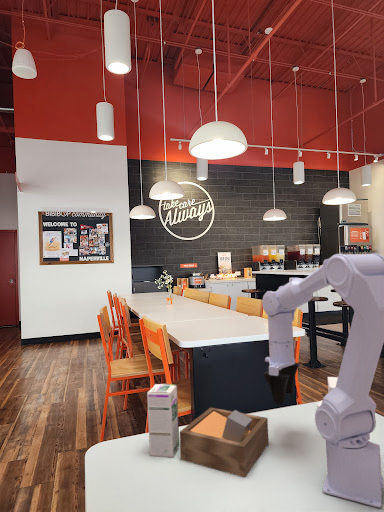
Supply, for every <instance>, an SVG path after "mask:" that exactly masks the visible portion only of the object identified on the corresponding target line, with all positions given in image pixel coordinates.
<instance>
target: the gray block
mask: <svg viewBox="0 0 384 512" xmlns="http://www.w3.org/2000/svg"><path fill="white" fill-rule="evenodd" d="M232 411H233V412H232V413H231V414H230V415H229V416H228V417H227V421H226V424H225V428H224V432H223V435H222V438H224V439H226V440H230V441H235V442H239V443H241V442H242V441H243V440H244V438H245V437H246V436H247V435H248V433H249V430H250V426H251V423H252V419H251V418H249V417H248V416H246V415H244V414H245V413H244V414H242V413H243V412H240V411H239V410H236V409H235V410H232Z"/></svg>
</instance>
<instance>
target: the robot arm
mask: <svg viewBox="0 0 384 512" xmlns="http://www.w3.org/2000/svg"><path fill="white" fill-rule="evenodd" d="M329 286H330V287H332V289H334V291H335V292H336V294H338V295H339V297H341V298H342V300H343V301H344V303H346V305H348V306H350V307H351V308H352V309H353V312H354V313H353V316H352V321H351V325H350V328H349V332H348V336H347V340H346V344H345V347H344V352H343V356H342V360H341V364H340V368H339V372H338V376H337V377H338V379H337V383H336V387H335V388H334V389H333V390H331V391H330V392H329V393H327V394H326V395H325V396H324V397H323V398H322V400H323V401H322V400H321V401H322V404H321V405H320V406H319V407H318V408H316V410H315V412H314V413H315V415H314V421H315V422H314V423H315V425H316V429H317V431H318V432H319V435H320V436H321V437H322V438H323V439H324V440H325V449H326V450H325V451H326V452H325V454H326V455H325V456H326V468H327V469H326V470H327V471H326V472H327V473H326V476H325V477H326V478H325V480H324V483H323V486H322V487H323V488H322V492H323V493H324V494H327V495H332V496H335V497H339V498H342V499H346V500H350V501H354V502H357V503H361V504H364V505H367V506H372V507H375V508H378V509H379V508H381V507H382V500H383V499H382V496H383V490H384V477H382V459H381V458H382V457H381V448H380V444H378V443H375V442H371V441H370V440H371V435H370V434H371V433H373V432H374V430H375V429H376V427H377V426H376V425H377V420H376V419H377V418H376V408H377V403H376V402H375V401H374V399H373V398H372V397H371V396H370V391H371V388H372V384H373V381H374V377H375V373H376V370H377V367H378V364H379V359H380V357H381V352H382V349H383V346H384V256H383V255H382V254H379V253H376V252H374V253H367V254H366V253H364V254H363V253H361V254H360V253H359V254H358V253H356V254H355V253H353V254H349V253H348V254H344V253H335V254H333V255H332V256H330V257H329V258H327V259H324V260H323V263H322V265H321V266H320V267H318V268H317V269H315V270H314V271H313V272H311V273H310V274H309V275H307V276H306V277H304V278H300V277H291V278H289V279H288V282H287V283H285V284H284V285H281V286H279V287H278V289H277V290H276V291H272V290H267V291H266V292H265V293H264V294H263V296H262V300H261V301H262V304H261V305H262V308H263V312H264V313H265V315H267V325H268V348H269V349H268V352H269V356H266V357H265V358H264V362H267V363H268V364H269V366H268V370H266V371H264V372H263V376H264V378H265V380H266V382H267V384H268V386H269V389H270V391H271V396H272V400H273V402H274V403H273V404H276V405H284V404H285V399H286V394H290V395H291V394H292V393H293V391H294V384H295V378H296V375H297V374H296V373H297V371H298V369H299V368H300V363H298V362H296V359H295V353H294V352H295V351H294V350H295V349H294V331H293V329H294V328H293V322H294V320H295V313H296V311H297V308H299V307H301V306H302V305H304V304H307V303H308V302H310V301H311V300H312V298H313V296H314V293H316V292H318V291H320V290H322V289H325V288H326V287H329Z"/></svg>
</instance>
